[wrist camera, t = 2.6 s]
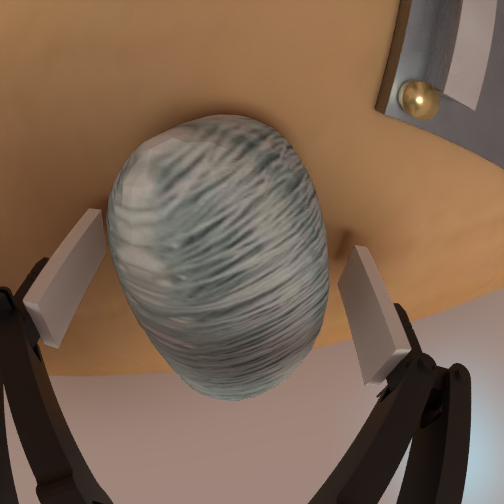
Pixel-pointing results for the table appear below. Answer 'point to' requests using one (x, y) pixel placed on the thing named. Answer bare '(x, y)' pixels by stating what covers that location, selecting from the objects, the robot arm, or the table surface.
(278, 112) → the table surface
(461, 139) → the carrier
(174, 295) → the grey rock
